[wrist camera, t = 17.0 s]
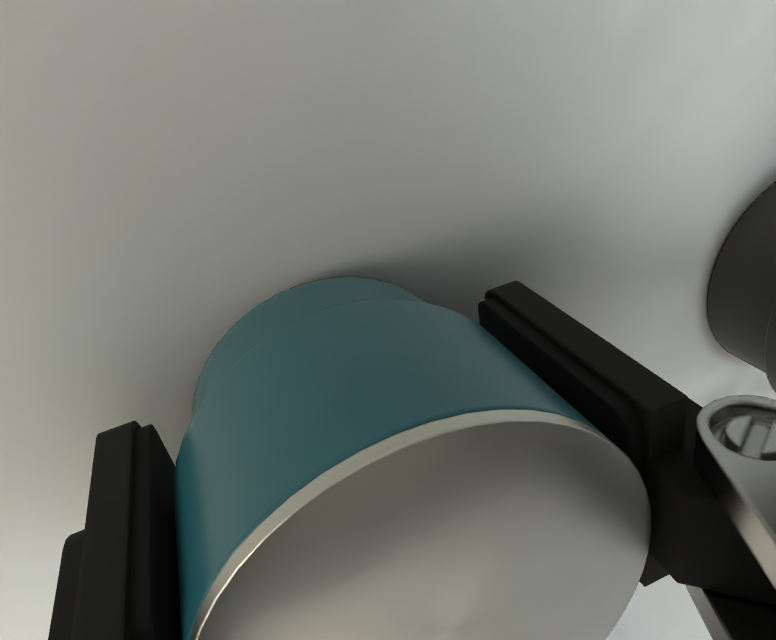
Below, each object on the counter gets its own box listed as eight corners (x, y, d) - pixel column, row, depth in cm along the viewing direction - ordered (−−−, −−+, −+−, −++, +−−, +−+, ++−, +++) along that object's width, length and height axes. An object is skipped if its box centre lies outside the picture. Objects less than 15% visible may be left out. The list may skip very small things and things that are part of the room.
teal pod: (110, 324, 9) (77, 582, 5) (450, 211, 10) (661, 338, 6) (233, 565, 11) (280, 857, 7) (487, 455, 13) (646, 655, 9)
